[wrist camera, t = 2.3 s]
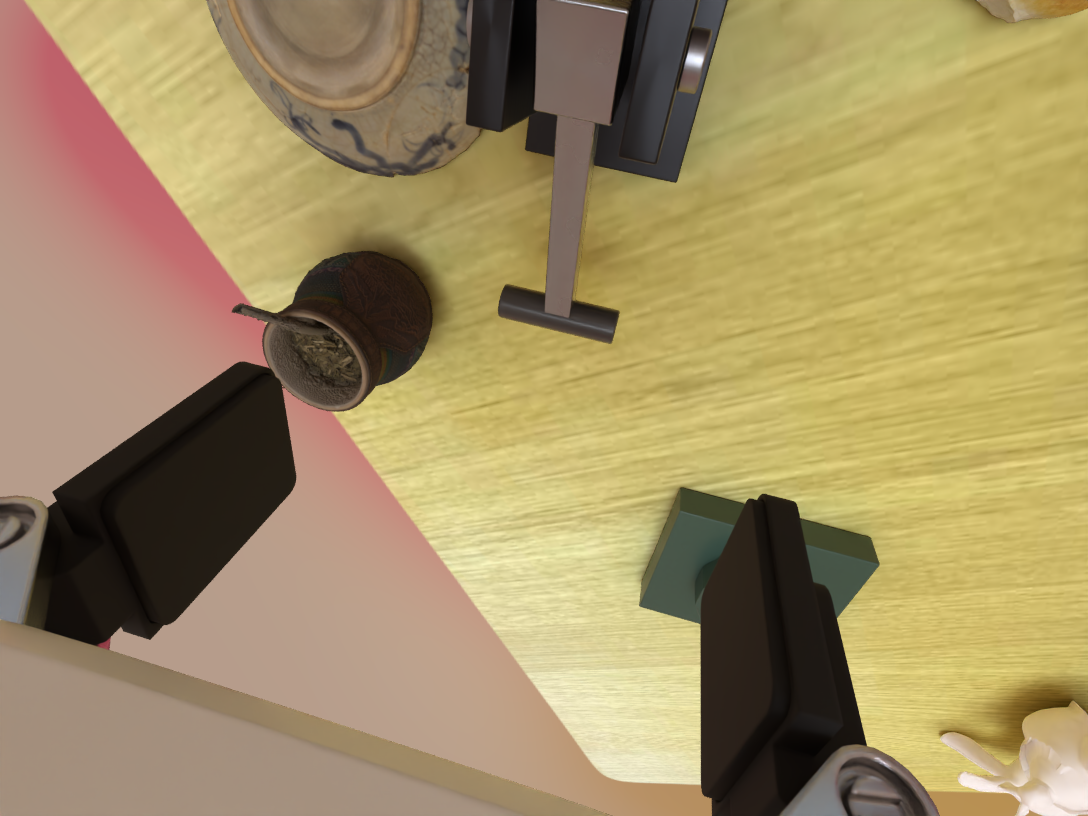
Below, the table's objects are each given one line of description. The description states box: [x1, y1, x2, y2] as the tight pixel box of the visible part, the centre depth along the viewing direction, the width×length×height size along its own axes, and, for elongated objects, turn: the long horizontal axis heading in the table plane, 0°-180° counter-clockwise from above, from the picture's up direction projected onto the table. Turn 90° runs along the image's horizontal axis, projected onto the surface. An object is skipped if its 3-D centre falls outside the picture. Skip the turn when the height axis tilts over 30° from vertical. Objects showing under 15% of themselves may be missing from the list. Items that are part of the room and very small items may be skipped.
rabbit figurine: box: [940, 701, 1088, 816], centre depth 39 cm, size 12×8×10 cm
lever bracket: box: [466, 0, 728, 183], centre depth 18 cm, size 10×7×13 cm
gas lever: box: [498, 0, 642, 344], centre depth 19 cm, size 13×5×2 cm, turn 171°
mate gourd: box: [232, 251, 432, 411], centre depth 29 cm, size 7×8×10 cm
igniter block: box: [639, 488, 879, 624], centre depth 37 cm, size 12×10×4 cm
